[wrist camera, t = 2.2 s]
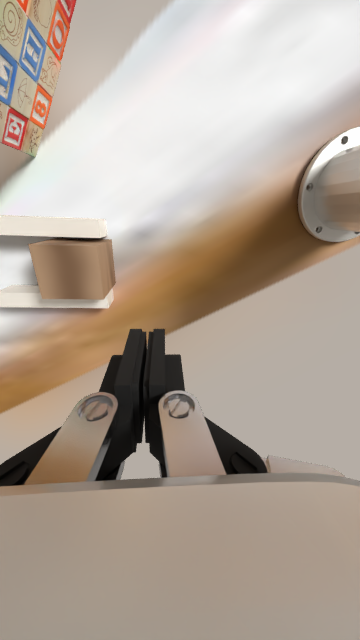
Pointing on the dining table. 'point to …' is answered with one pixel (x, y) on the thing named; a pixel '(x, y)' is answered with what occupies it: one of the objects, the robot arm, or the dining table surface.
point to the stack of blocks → (30, 66)
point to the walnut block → (74, 268)
